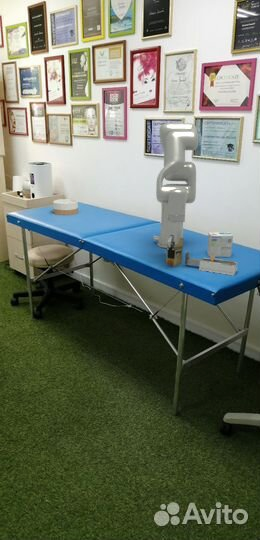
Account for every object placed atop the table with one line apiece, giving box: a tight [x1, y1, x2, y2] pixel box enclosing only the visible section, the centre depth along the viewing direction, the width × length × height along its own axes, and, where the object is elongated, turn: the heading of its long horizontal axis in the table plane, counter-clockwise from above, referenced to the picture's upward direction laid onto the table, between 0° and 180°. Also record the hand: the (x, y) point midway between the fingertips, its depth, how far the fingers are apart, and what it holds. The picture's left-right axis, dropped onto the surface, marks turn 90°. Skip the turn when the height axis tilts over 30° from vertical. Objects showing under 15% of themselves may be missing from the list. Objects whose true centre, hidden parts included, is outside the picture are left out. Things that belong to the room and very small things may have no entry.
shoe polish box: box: [166, 238, 184, 267], centre depth 181 cm, size 5×5×12 cm
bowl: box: [52, 198, 79, 216], centre depth 282 cm, size 17×17×8 cm
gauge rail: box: [198, 257, 238, 277], centre depth 174 cm, size 15×7×4 cm, turn 66°
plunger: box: [184, 251, 216, 267], centre depth 177 cm, size 12×3×5 cm, turn 66°
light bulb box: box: [206, 231, 234, 258], centre depth 194 cm, size 11×7×11 cm, turn 92°
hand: (174, 255), depth 181 cm, fingers open, 9 cm apart
